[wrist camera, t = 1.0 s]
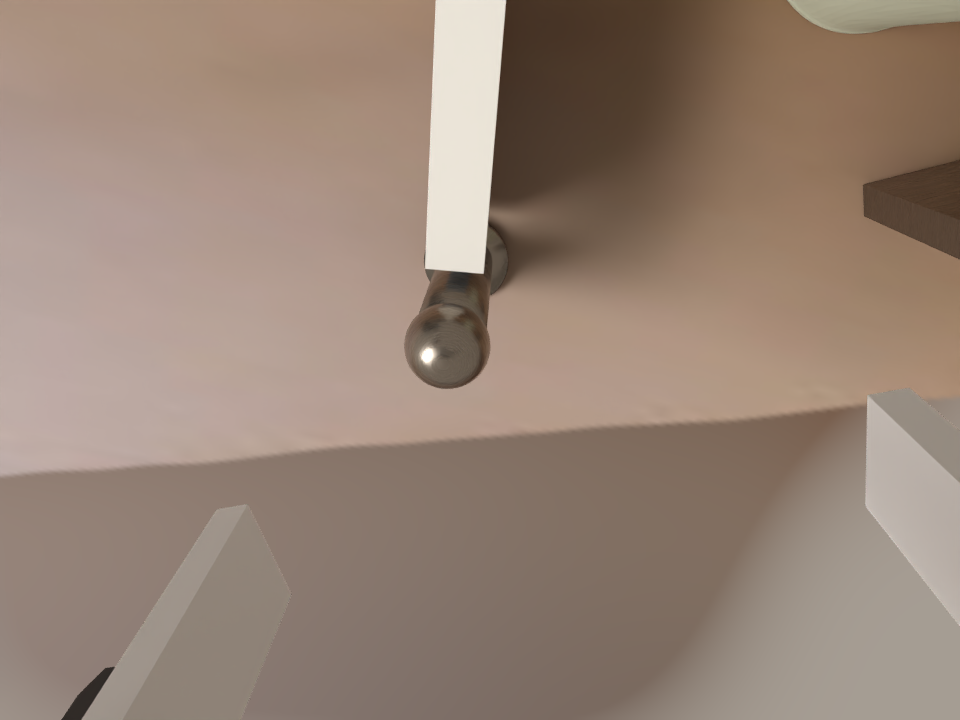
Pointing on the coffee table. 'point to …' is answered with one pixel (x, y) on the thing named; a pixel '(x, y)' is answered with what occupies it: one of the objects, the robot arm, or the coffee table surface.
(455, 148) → the gate
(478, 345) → the hinge post
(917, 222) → the latch post
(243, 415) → the coffee table surface
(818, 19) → the can
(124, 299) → the coffee table surface
